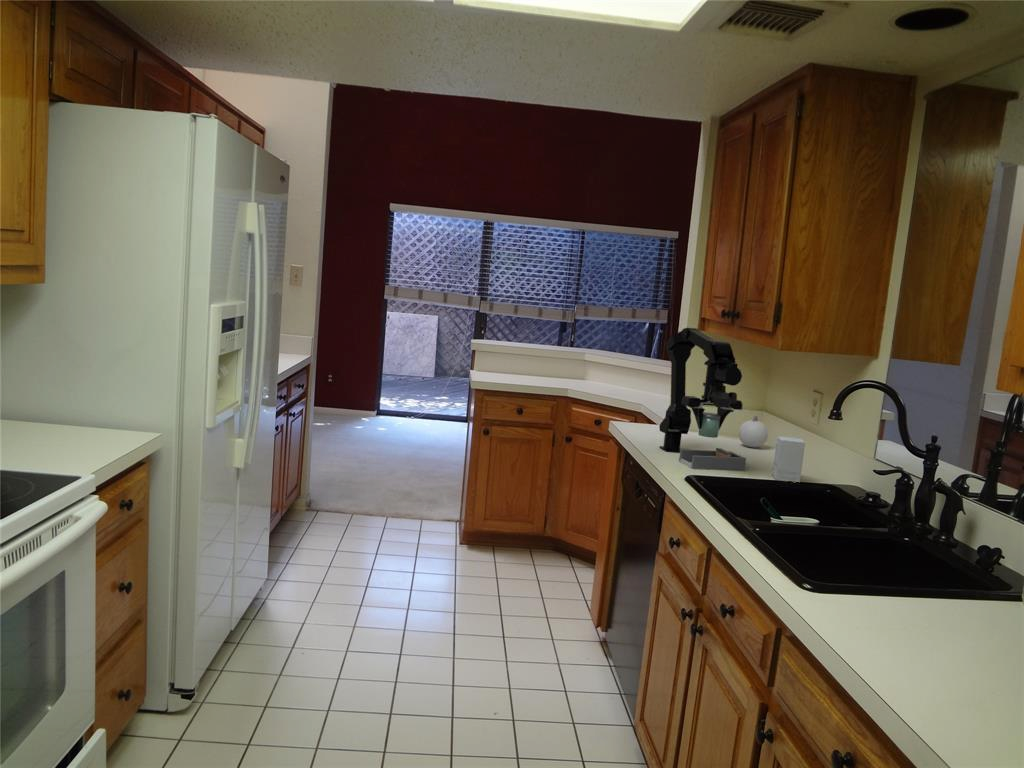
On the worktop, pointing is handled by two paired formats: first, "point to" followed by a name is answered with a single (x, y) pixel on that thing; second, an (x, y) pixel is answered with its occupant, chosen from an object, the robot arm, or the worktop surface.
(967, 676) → the worktop surface
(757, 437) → the ornament
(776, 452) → the supplement box
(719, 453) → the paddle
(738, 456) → the gray tray
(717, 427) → the jar
